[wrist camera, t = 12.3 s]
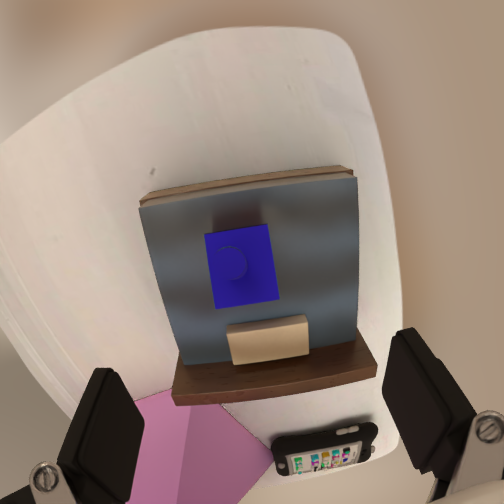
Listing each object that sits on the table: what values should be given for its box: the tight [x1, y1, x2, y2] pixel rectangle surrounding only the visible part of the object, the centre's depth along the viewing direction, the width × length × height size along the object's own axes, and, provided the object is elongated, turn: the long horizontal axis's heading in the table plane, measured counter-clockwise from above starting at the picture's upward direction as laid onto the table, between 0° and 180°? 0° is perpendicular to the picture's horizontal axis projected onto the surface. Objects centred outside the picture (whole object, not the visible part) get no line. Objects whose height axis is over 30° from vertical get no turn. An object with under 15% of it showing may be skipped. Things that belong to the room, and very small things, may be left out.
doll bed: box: [139, 165, 378, 406], centre depth 23 cm, size 15×16×9 cm
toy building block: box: [204, 223, 280, 309], centre depth 18 cm, size 4×4×8 cm
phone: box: [271, 422, 378, 476], centre depth 37 cm, size 11×15×4 cm
